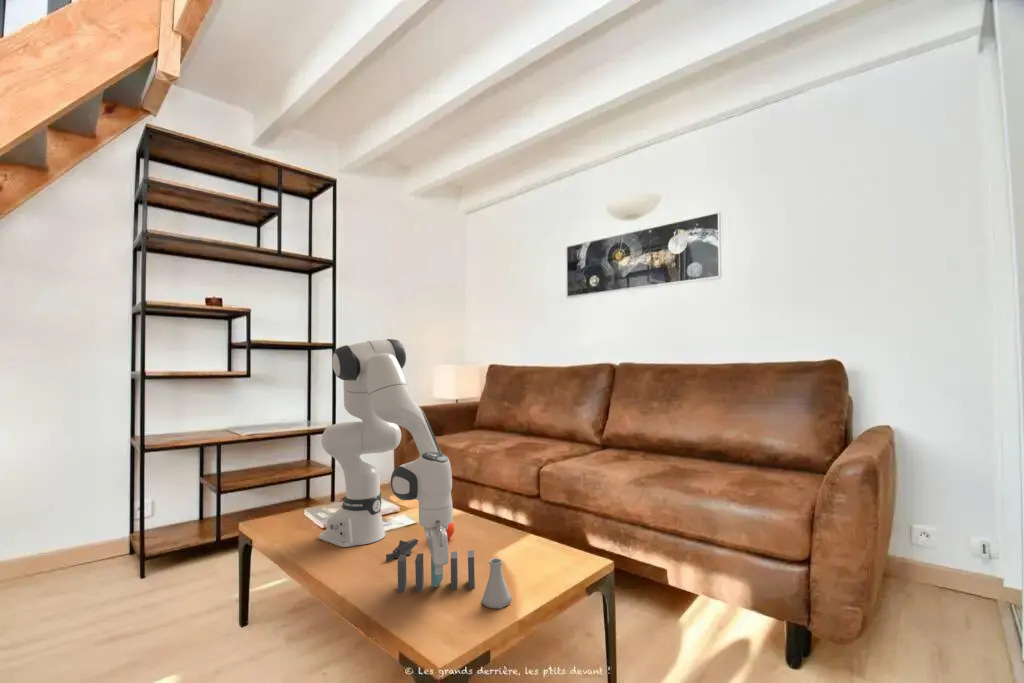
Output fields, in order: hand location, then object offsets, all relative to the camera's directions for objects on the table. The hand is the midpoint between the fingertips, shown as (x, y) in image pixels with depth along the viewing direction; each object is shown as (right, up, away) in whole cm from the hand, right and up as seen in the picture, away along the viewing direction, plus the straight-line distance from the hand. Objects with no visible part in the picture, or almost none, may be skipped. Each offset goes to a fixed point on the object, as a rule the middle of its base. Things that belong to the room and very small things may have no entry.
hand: (436, 568), depth 127 cm
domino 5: (+9, -5, +1) cm, 10 cm away
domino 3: (0, -4, 0) cm, 4 cm away
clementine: (-3, -6, +33) cm, 34 cm away
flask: (+16, -4, -9) cm, 19 cm away
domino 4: (+5, -5, 0) cm, 7 cm away
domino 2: (-4, -5, -1) cm, 6 cm away
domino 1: (-9, -5, -1) cm, 10 cm away
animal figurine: (-14, -6, +21) cm, 25 cm away
